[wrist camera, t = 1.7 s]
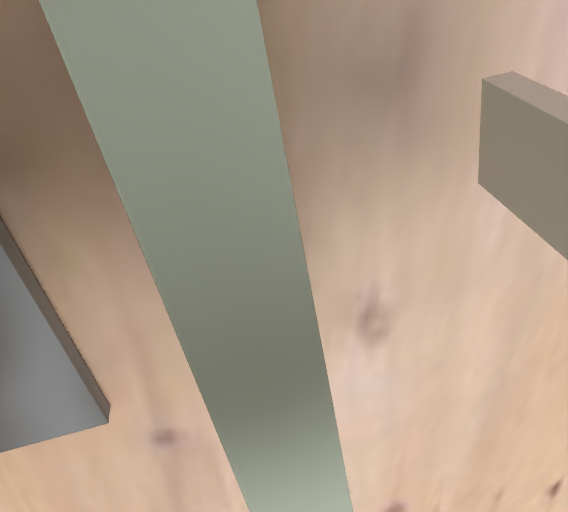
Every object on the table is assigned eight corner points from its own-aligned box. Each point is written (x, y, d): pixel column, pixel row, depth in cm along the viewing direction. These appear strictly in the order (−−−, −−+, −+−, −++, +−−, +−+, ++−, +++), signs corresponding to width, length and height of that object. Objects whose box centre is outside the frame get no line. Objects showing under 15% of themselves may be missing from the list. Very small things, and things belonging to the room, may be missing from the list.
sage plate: (93, -157, 13) (-90, -310, 4) (169, -173, 14) (187, -363, 4) (229, 287, 22) (282, 591, 12) (275, 275, 22) (363, 568, 12)
